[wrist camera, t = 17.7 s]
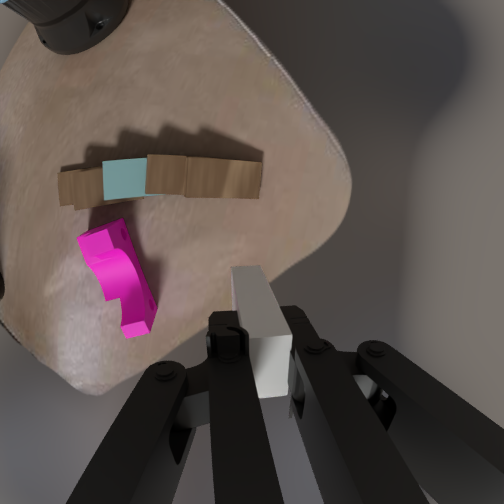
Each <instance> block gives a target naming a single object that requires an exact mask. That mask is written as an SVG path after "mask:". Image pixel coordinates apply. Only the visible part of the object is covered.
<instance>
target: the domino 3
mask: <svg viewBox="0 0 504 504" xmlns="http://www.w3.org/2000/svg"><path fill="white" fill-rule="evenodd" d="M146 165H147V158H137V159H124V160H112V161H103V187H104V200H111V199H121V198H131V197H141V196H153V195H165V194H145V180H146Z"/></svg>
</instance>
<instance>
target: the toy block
mask: <svg viewBox="0 0 504 504" xmlns="http://www.w3.org/2000/svg"><path fill="white" fill-rule="evenodd" d="M77 240H78V243H79V246H80V249H81V251H82V254H83V256H84V259H85V262H86V264H87V265H88V266H89V267H90V268H91V269H92V271H93V272H94V273H95V275H96V277H97V279H98V280H99V282H100V285H101V287H102V290H103V293H104V296H105V300H106V301H109V300H113V299H116V298H120V301H121V307H122V321H121V326H120V327H121V329H122V331H123V333H124V335H125V337H126V339H127V338H131V337H135V336H139V335H144V334H148V333H150V331H151V328H152V325H153V322H154V318H155V315H156V312H157V309H158V308H157V306H156V303H155V301H154V299H153V296H152V294H151V291H150V289H149V287H148V284H147V282H146V279H145V277H144V274H143V271H142V269H141V266H140V264H139V261H138V258H137V256H136V253H135V250H134V247H133V245H132V242H131V239H130V236H129V233H128V230H127V228H126V225H125V222H124V219H123V218H121V219H118V220H115V221H113V222H110V223H107V224H104V225H102V226H99V227H96V228H93V229H91V230H88V231H86V232H85V233H83V234H82V235H80V236H78V237H77Z"/></svg>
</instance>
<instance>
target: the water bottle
mask: <svg viewBox="0 0 504 504" xmlns="http://www.w3.org/2000/svg"><path fill="white" fill-rule="evenodd" d="M4 291H5V287H4V281H3V278H2V275H1V273H0V300H1V299H2V298H3V296H4Z"/></svg>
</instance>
